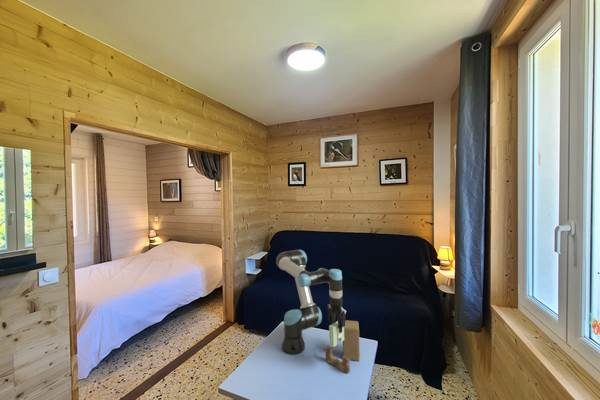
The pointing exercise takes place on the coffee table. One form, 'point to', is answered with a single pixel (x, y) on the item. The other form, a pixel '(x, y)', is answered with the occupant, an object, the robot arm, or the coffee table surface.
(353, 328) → the wooden block
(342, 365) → the brown wooden bracket
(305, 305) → the robot arm
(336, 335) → the pale green block
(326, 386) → the coffee table surface
